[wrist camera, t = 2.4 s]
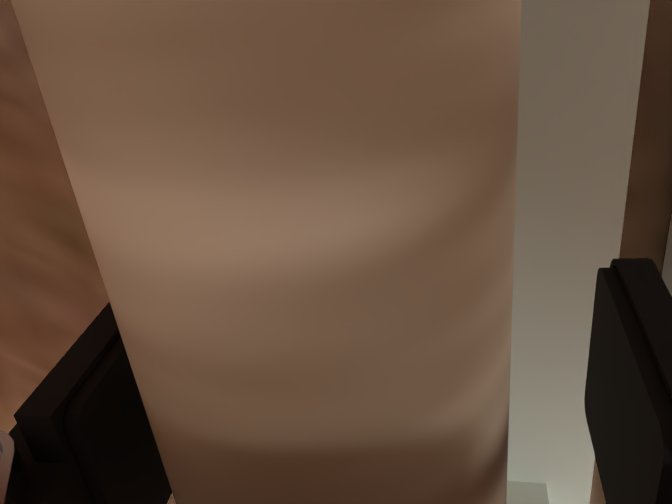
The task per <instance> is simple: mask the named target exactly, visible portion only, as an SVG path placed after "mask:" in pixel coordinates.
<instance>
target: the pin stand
mask: <svg viewBox="0 0 672 504" xmlns="http://www.w3.org/2000/svg"><path fill="white" fill-rule="evenodd" d="M649 6H650V0H521V33H520V66H519V99H518V132H517V165H516V198H515V231H514V265H513V298H512V331H511V364H510V397H509V430H508V463H507V497H506V504H589V503H590V495H591V487H592V478H593V470H594V462H595V454H594V449H593V445H592V441H591V437H590V433H589V429H588V424H587V420H586V415H585V405H584V397H585V386H586V376H587V366H588V357H589V347H590V337H591V327H592V318H593V308H594V298H595V289H596V279H597V272H598V269H599V268H610V264H611V261H612V260H613V259H619V255H620V246H621V238H622V230H623V221H624V213H625V205H626V196H627V188H628V180H629V172H630V163H631V155H632V147H633V138H634V130H635V122H636V114H637V105H638V97H639V89H640V80H641V72H642V64H643V55H644V47H645V39H646V31H647V22H648V14H649Z"/></svg>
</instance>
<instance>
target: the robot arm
mask: <svg viewBox="0 0 672 504" xmlns="http://www.w3.org/2000/svg"><path fill="white" fill-rule="evenodd" d="M584 405H585V415H586V420H587V424H588V429H589V433H590V437H591V441H592V445H593V449H594V454H595V458H596V462H597V466H598V470H599V474H600V479H601V483H602V487H603V491H604V495H605V500H606V504H672V296H671V294H670V292H669V290H668V288H667V286H666V285H665V283H664V281H663V279H662V277H661V275H660V273H659V271H658V269H657V267H656V265H655V263H654V262H653V260H652V259H650V258H634V259H613V260H612V261H611V264H610V268H599V269H598V272H597V279H596V289H595V298H594V308H593V318H592V327H591V337H590V347H589V357H588V366H587V376H586V386H585V397H584ZM14 417H15V419H16V422H17V424H16V425H15V426H14V428H13V429H12V430H11V431H10V433H9V434H8V433H5V432H3V431H1V430H0V504H167V502H168V500H169V497H170V495H171V493H172V490H171V487H170V484H169V481H168V477H167V474H166V471H165V468H164V465H163V462H162V459H161V456H160V453H159V450H158V447H157V444H156V441H155V438H154V435H153V432H152V429H151V426H150V423H149V420H148V417H147V414H146V411H145V407H144V404H143V401H142V398H141V395H140V392H139V389H138V386H137V383H136V380H135V377H134V374H133V371H132V368H131V365H130V362H129V359H128V356H127V353H126V350H125V347H124V344H123V341H122V338H121V334H120V331H119V328H118V325H117V322H116V319H115V316H114V313H113V310H112V307H111V304H110V302H109V303H108V304H107V305H106V307H105V308H104V309H103V310H102V311H101V312H100V314H99V315H98V316H97V317H96V318H95V320H94V321H93V322H92V323H91V324H90V325H89V327H88V328H87V329H86V330H85V331H84V332H83V334H82V335H81V336H80V337H79V338H78V340H77V341H76V342H75V343H74V344H73V345H72V347H71V348H70V349H69V350H68V351H67V353H66V354H65V355H64V356H63V357H62V358H61V360H60V361H59V362H58V363H57V364H56V366H55V367H54V368H53V369H52V370H51V371H50V373H49V374H48V375H47V376H46V377H45V379H44V380H43V381H42V382H41V383H40V384H39V386H38V387H37V388H36V389H35V390H34V392H33V393H32V394H31V395H30V396H29V397H28V399H27V400H26V401H25V402H24V403H23V405H22V406H21V407H20V408H19V409H18V410H17V412H16V413H15V414H14Z"/></svg>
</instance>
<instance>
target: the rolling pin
mask: <svg viewBox="0 0 672 504" xmlns="http://www.w3.org/2000/svg"><path fill="white" fill-rule="evenodd" d="M11 3H12V6H13V9H14V12H15V15H16V18H17V21H18V24H19V27H20V30H21V33H22V36H23V39H24V42H25V45H26V48H27V51H28V55H29V58H30V61H31V64H32V67H33V70H34V73H35V76H36V79H37V82H38V85H39V88H40V91H41V94H42V97H43V100H44V103H45V106H46V109H47V112H48V115H49V118H50V121H51V125H52V128H53V131H54V134H55V137H56V140H57V143H58V146H59V149H60V152H61V155H62V158H63V161H64V164H65V167H66V170H67V173H68V176H69V179H70V182H71V185H72V188H73V191H74V194H75V198H76V201H77V204H78V207H79V210H80V213H81V216H82V219H83V222H84V225H85V228H86V231H87V234H88V237H89V240H90V243H91V246H92V249H93V252H94V255H95V258H96V261H97V264H98V268H99V271H100V274H101V277H102V280H103V283H104V286H105V289H106V292H107V295H108V298H109V301H110V304H111V307H112V310H113V313H114V316H115V319H116V322H117V325H118V328H119V331H120V334H121V338H122V341H123V344H124V347H125V350H126V353H127V356H128V359H129V362H130V365H131V368H132V371H133V374H134V377H135V380H136V383H137V386H138V389H139V392H140V395H141V398H142V401H143V404H144V407H145V411H146V414H147V417H148V420H149V423H150V426H151V429H152V432H153V435H154V438H155V441H156V444H157V447H158V450H159V453H160V456H161V459H162V462H163V465H164V468H165V471H166V474H167V477H168V481H169V484H170V487H171V490H172V493H173V496H174V499H175V502H176V504H506V497H507V463H508V430H509V397H510V364H511V331H512V298H513V265H514V231H515V198H516V165H517V132H518V99H519V66H520V33H521V0H11Z"/></svg>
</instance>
